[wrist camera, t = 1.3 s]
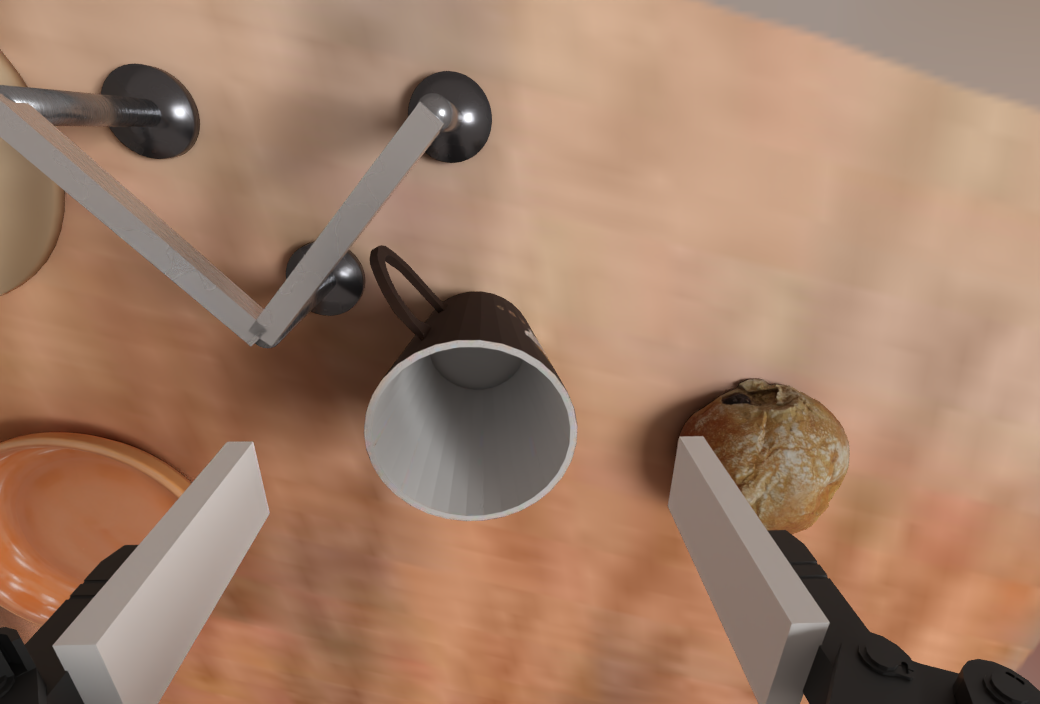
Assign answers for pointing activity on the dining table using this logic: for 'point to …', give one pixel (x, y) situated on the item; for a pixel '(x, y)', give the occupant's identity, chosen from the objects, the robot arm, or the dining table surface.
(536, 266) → the dining table surface
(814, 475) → the bread roll
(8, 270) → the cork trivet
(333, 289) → the bent wire
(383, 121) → the dining table surface
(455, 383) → the coffee mug
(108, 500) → the saucer
